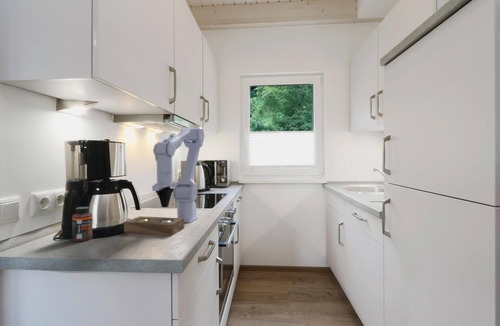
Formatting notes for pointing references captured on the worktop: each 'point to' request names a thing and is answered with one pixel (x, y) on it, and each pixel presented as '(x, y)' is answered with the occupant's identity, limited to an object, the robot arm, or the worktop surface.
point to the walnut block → (154, 226)
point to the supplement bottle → (82, 224)
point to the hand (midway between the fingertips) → (164, 206)
